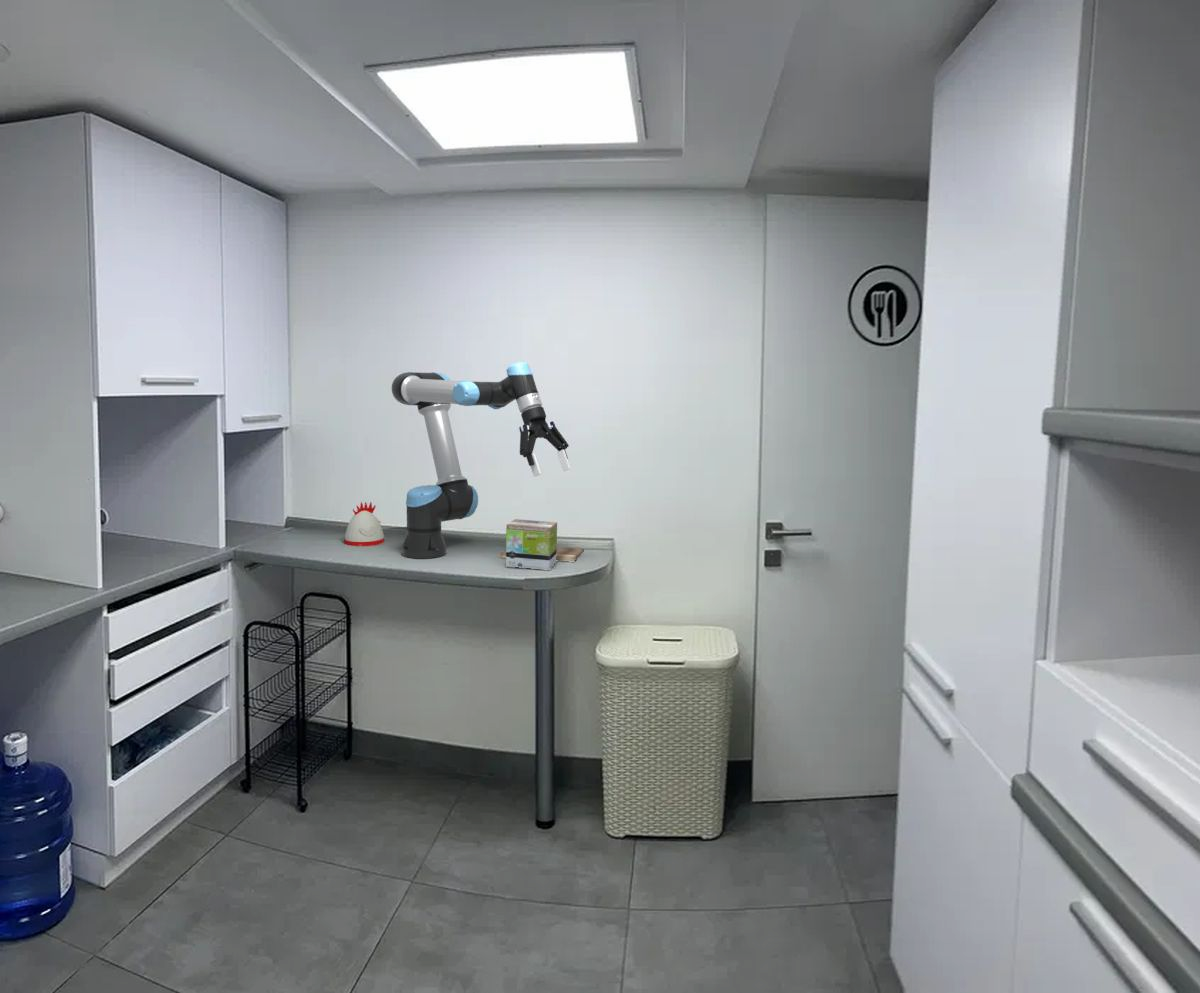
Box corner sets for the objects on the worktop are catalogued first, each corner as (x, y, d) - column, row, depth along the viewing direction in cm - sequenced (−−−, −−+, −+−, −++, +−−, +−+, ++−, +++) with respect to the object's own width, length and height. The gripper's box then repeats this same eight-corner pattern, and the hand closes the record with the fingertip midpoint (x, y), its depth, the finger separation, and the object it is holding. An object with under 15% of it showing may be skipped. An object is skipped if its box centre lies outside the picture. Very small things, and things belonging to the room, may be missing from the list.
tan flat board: (500, 557, 261) (500, 552, 261) (514, 546, 278) (514, 541, 278) (574, 562, 257) (574, 556, 257) (583, 550, 274) (583, 545, 274)
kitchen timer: (388, 544, 277) (387, 504, 275) (349, 547, 270) (348, 506, 268) (379, 537, 289) (378, 498, 287) (341, 540, 282) (340, 500, 280)
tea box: (505, 568, 247) (505, 523, 245) (513, 561, 257) (514, 518, 255) (549, 571, 245) (550, 526, 242) (557, 564, 254) (557, 520, 252)
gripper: (510, 407, 230) (532, 473, 228) (565, 403, 249) (586, 464, 247) (495, 416, 235) (516, 481, 233) (550, 411, 254) (570, 471, 252)
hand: (552, 472), depth 240 cm, fingers open, 13 cm apart
